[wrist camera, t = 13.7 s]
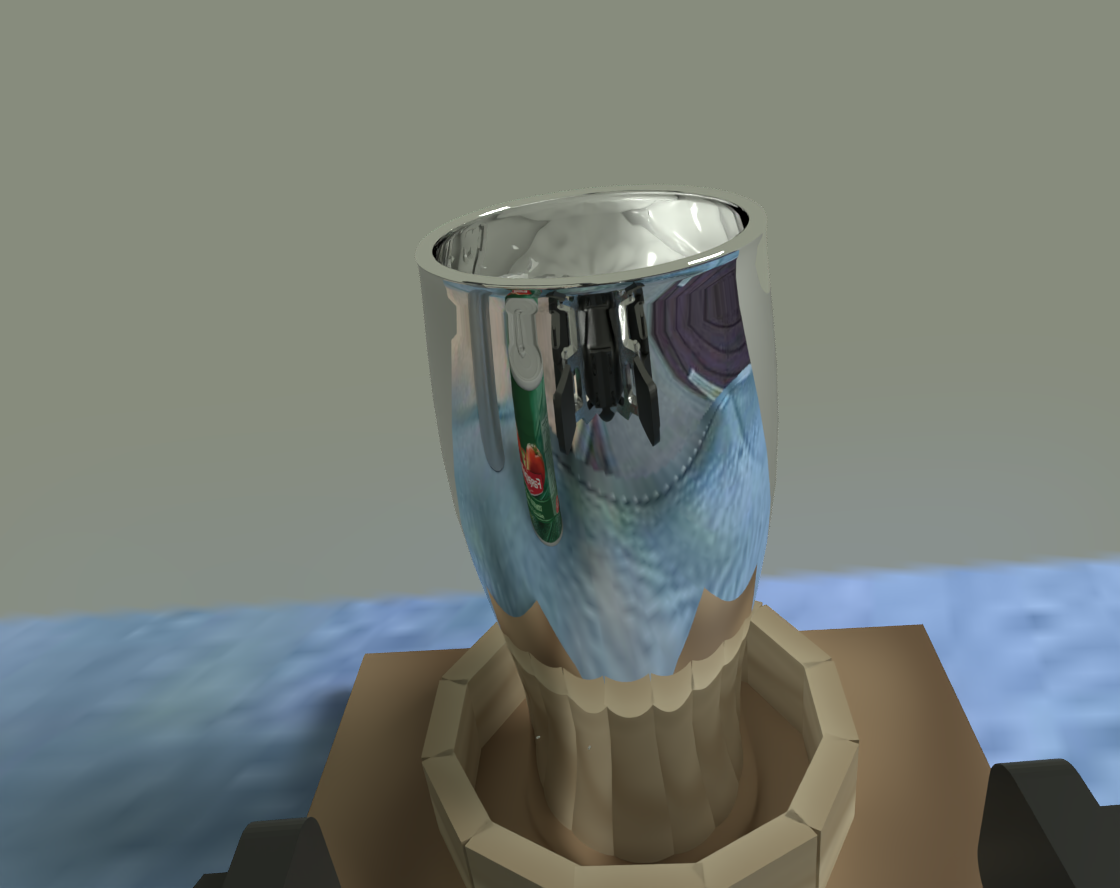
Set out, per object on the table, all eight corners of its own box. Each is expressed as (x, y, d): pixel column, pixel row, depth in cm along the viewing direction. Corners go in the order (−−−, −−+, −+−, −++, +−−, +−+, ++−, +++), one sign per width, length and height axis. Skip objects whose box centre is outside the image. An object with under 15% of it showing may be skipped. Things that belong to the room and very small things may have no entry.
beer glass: (557, 676, 28) (484, 187, 21) (787, 708, 25) (795, 174, 18) (471, 872, 22) (331, 288, 15) (759, 935, 20) (755, 285, 13)
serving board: (263, 1026, 21) (213, 919, 19) (374, 687, 30) (348, 594, 28) (1076, 1018, 19) (1109, 898, 17) (919, 660, 29) (929, 559, 27)
